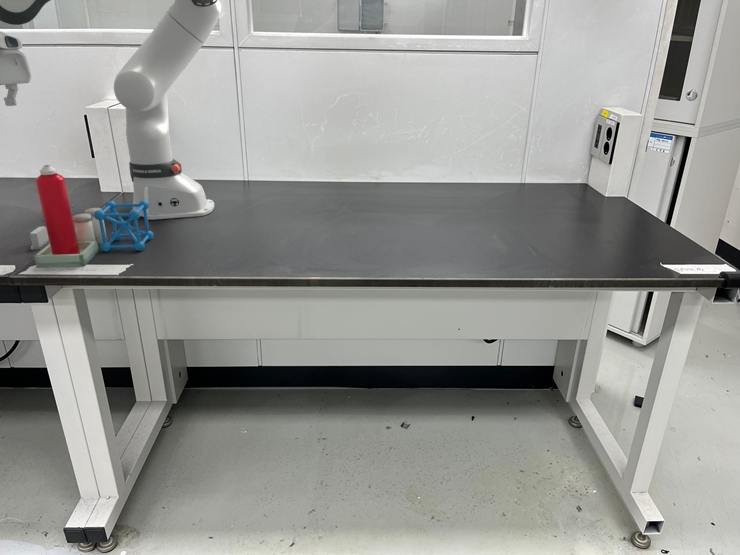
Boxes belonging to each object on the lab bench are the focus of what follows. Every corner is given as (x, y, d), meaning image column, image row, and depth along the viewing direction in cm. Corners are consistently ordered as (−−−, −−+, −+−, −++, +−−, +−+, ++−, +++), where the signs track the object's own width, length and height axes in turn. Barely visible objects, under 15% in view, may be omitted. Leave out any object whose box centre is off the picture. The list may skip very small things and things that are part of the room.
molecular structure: (113, 238, 137) (106, 199, 133) (155, 237, 138) (149, 199, 134) (99, 253, 128) (91, 211, 124) (144, 252, 129) (137, 211, 125)
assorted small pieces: (113, 235, 139) (108, 204, 136) (84, 265, 121) (77, 231, 118) (47, 236, 138) (40, 205, 134) (8, 267, 119) (-2, 232, 116)
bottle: (49, 259, 121) (27, 168, 113) (57, 251, 126) (37, 163, 118) (75, 258, 122) (56, 168, 114) (83, 249, 127) (65, 162, 119)
